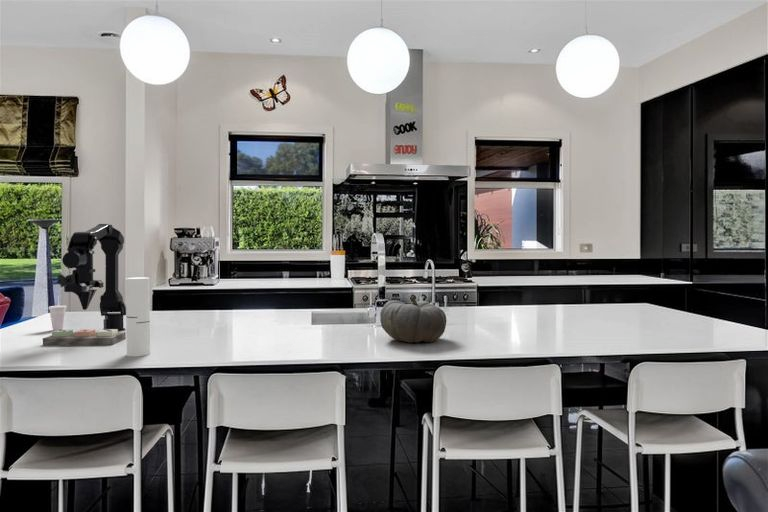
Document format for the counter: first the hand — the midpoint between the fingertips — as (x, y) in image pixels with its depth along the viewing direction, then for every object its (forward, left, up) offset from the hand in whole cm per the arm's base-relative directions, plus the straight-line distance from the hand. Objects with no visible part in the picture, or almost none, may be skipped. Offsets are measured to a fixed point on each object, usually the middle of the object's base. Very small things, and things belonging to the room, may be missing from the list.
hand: (85, 309), depth 210 cm
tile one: (0, 0, -12) cm, 12 cm away
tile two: (+6, -6, -12) cm, 14 cm away
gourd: (-83, +87, -12) cm, 121 cm away
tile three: (-6, +6, -12) cm, 14 cm away
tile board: (0, 0, -12) cm, 12 cm away
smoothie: (-3, -36, -12) cm, 39 cm away
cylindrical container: (-3, +35, -12) cm, 37 cm away
